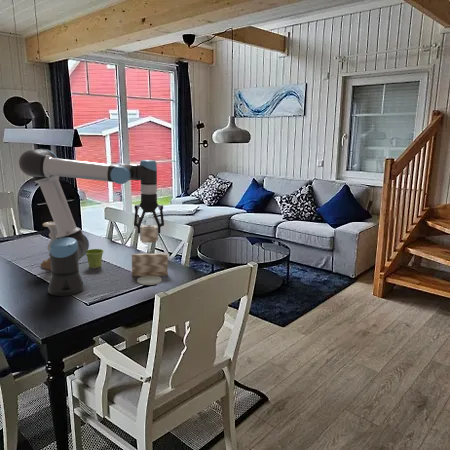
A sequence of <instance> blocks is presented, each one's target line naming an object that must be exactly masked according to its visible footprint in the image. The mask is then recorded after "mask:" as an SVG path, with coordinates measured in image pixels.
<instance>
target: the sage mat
mask: <svg viewBox="0 0 450 450" xmlns="http://www.w3.org/2000/svg"><path fill="white" fill-rule="evenodd" d="M136 281H137V283H138V284H140V285H143V286H153V285H158V284H160V283H162V281H163V280H162V277H161V276H152V275H149V276H139V277H138V278H137V279H136Z"/></svg>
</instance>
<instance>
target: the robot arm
mask: <svg viewBox="0 0 450 450" xmlns="http://www.w3.org/2000/svg"><path fill="white" fill-rule="evenodd" d="M18 159H19V160H18V166H19V170H21V172H22V173H23V174H24V175H27V176H29V177H32V179H33V181H34V183H36V184H38V185H39V187H40V190H41V192H42V195H43V197H44V199H45V202H46V205H47V207H48V209H49V213H50V215H51V217H52V220H53V221H54V223H55V225H56V228H57V231H58V234H57V236H56V238H57V239H56V240H54V241H52V242H51V244H50V251H49V253H50V256H49V258H50V259H51V270H50V271H51V275H50V280H49V284H48V286H47V287H48V288H47V289H48V294H50V295H52V296H56V297H57V296H58V297H64V296H72V295H76V294H78V293H81V292H82V291H83V290H84V289H85V288H84V287H85V286H84V282H83V279H82V277H81V274H80V265H79V264H80V263H79V260H80V259H82V258H83V257H84V256H85V255H86V252H87V251H88V250H89V248H90V241H89V239H88V237H87V236H86V235H85V234H84V233H83V232H82V229H81V228H80V227H77V225H76V222H75V220H74V217H73V214H72V212H71V209H70V205H69V203H68V201H67V198H66V195H65V193H64V190H63V188H62V185H61V183H60V179H59V178H60V177H63V178H64V177H65V178H71V179H72V178H73V179H82V180H92V181H100V182H101V181H102V182H110V183H115V184H117V185H123V184H126V183H128V182H129V181H140V204H134V219H133V226H135V227H137V234H139V241H140V242H142V239H141V228H142V223H143V219H144V217H145V215H146V214H147V213H151V214H152V215H153V217H154V220H155V223H156V225H157V226H156V242H158V241H159V234H161V228H162V227H164V226H165V220H164V219H165V218H164V212H163V210H164V205H163V204H158V194H157V192H158V167H157V165H158V164H157V161H156V160H153V159H141V160H140V163H137V164H136V163H116V164H110V163H109V164H108V163H101V162H91V161H83V160H76V159H75V160H74V159H68V158H66V159H64V158H58V156H57V155H56V154H55V152H53V151H51V150H49V149H45V148H39V149H29V150H26V151H24V152H23V153H21V154H20V156H19V158H18ZM140 208H141V210H142V212H141V216H140V218H139V222H137V221H138V214H139V209H140ZM157 208H158V210H159V214H160V215H159V216H160V220H159V217H158V215H157V213H156V210H157ZM160 222H161V223H160Z"/></svg>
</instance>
